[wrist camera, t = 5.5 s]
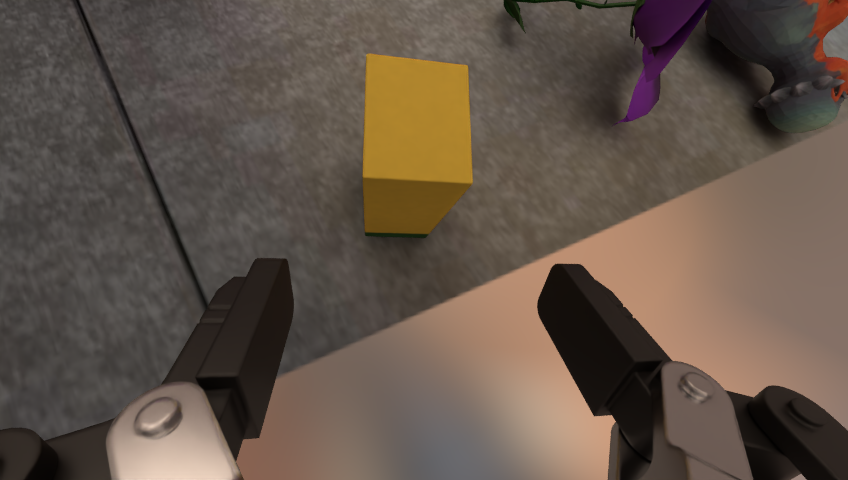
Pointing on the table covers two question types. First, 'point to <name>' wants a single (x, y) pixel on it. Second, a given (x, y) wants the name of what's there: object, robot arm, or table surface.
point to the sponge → (414, 144)
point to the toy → (787, 55)
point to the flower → (646, 39)
